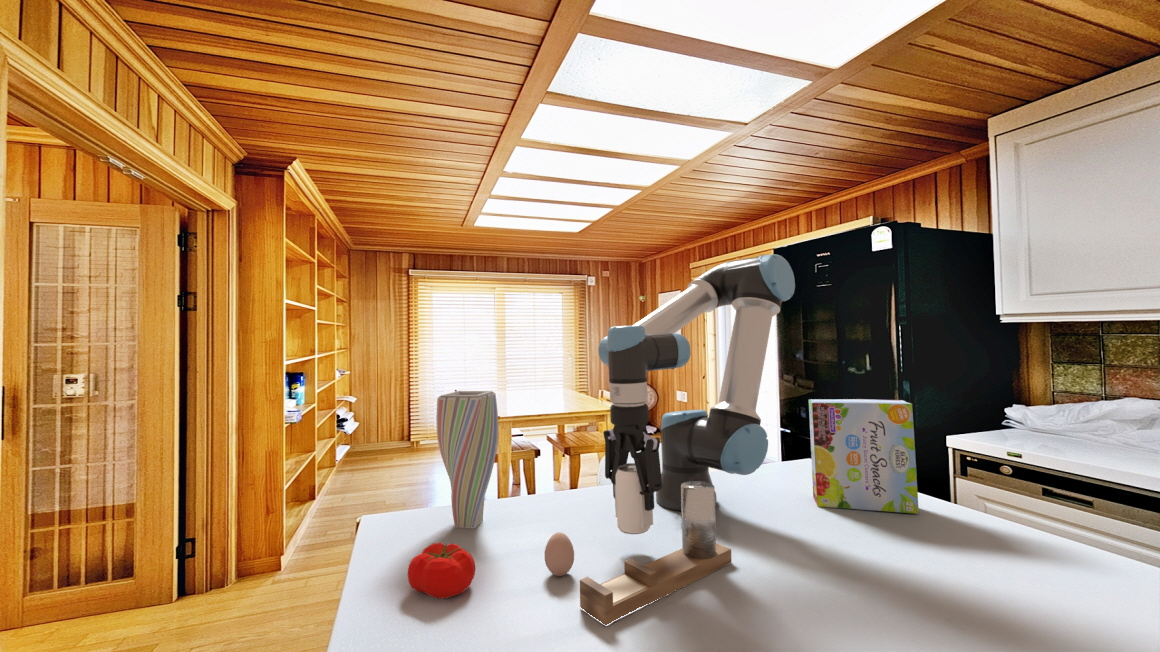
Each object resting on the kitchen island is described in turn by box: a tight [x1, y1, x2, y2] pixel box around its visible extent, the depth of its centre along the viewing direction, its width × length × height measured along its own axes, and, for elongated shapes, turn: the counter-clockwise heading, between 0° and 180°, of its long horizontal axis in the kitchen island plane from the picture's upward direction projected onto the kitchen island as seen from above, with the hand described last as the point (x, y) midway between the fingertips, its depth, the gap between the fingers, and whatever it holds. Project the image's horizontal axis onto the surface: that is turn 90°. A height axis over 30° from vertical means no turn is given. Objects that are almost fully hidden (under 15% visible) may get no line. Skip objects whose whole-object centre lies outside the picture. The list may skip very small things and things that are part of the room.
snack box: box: [808, 398, 920, 515], centre depth 117 cm, size 22×9×26 cm, turn 71°
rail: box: [579, 542, 732, 625], centre depth 81 cm, size 6×31×4 cm, turn 128°
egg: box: [544, 531, 575, 577], centre depth 85 cm, size 5×5×7 cm
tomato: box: [407, 542, 476, 599], centre depth 81 cm, size 10×11×6 cm
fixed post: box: [681, 481, 717, 560], centre depth 88 cm, size 6×6×12 cm
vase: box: [435, 390, 499, 529], centre depth 110 cm, size 14×14×30 cm
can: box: [616, 462, 651, 535], centre depth 94 cm, size 6×6×12 cm
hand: (633, 520), depth 94 cm, fingers closed on can, 6 cm apart
